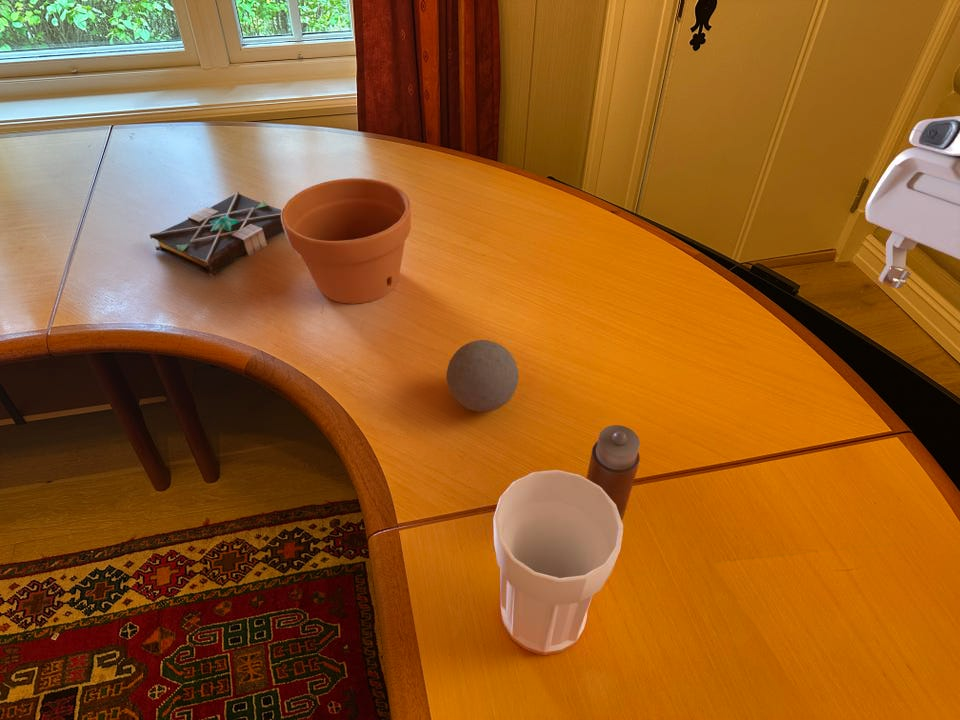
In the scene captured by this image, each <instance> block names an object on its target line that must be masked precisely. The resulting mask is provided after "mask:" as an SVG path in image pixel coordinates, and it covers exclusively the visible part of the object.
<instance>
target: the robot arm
mask: <svg viewBox="0 0 960 720" xmlns="http://www.w3.org/2000/svg"><path fill="white" fill-rule="evenodd" d="M908 141H909V143H910V144H911V145H912V146H914V147H910V148H909V147H908V148H907V149H904V150H903V151H901V152H900V153H899V154H898V155H896V157H894V158H893V160H892V161H891V162H890V164H889V165H888V166H887V168H886V169H885V171H884V172H883V174H882V175H881V177H880V179H879V180H878V182H877V184H876V185H875V187H874V189H873V190H872V192H871V194H870V196H869V198H868V199H867V202H866V204H865V207H864V213H865V220H866V222H868V223H870V224H873V225H874V226H875V225H876V226H878V227H880V228H882V229H885V230H887V231H890V232H891V234H890V236H889V237H888V238H887V241H886V242H885V264H886V265H885V267H884V268H883V270H882V272H881V274H880V275H879V277H878V281H879V282H880V283H882V284H883V285H885V286H888V287H889V288H893V289H902V288H903V287H904V286H905V284H906V281H907V280H908V279H909V278H910V276H911V274H912V273H913V272H912V271H911V270H908V268H907V269H906V260H907V253H908V252H907V251H908V250H909V251H912V250H914V249H915V247H916V246H917V244H918V243H919V244H921V245H923V246H926V247H928V248H930V249H933V250H936V251H938V252H941V253H942V254H945V255H947V256H950V257H952V258H954V259H957V260H959V261H960V115H956V116H947V117H946V116H945V117H939V118H938V117H937V118H927V119H923V120H920V121H919V122H917V123H916V124H915V126H914V127H913V129H912V131H911V132H910V135H909V138H908Z"/></svg>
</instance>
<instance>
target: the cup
mask: <svg viewBox="0 0 960 720" xmlns="http://www.w3.org/2000/svg"><path fill="white" fill-rule="evenodd" d="M586 478H587V477H585V476H582V475H580V474H579V473H578V474H577V473H574V472H573V473H572V472H569V471H564V470H560V469H553V470H552V469H551V470H541V471H533V472H531V473H529V474H527V475H525V476H523V477H520V478H518V479H517V480H514V481H513V482H512V483H511V484H510V485H509V486H508V487H507V489H506V490H505V491H504V492H503V493H502V494H501V495H500V497H498V498H499V499H498V502H497V505H496V508H495V512H494V515H493V545H494V550H495V557H496V563H497V566H498V567H499V571H500V572H499V582H500V583H499V584H500V586H499V587H500V588H499V589H500V593H499V595H500V599H499V600H500V601H499V602H500V614H501V615H500V616H501V620H502V624H503V627H504V628H505V630H506V632H507V634H508V636H509V637H510V639H511V640H512V641H513V642H514V643H516V644H517V645H518V646H520V647H521V648H523V649H524V650H526V651H528V652H531V653H534V654H537V655H542V656H548V655H549V656H550V655H555V654H560V653H563V652H565V651H567V650H569V649H570V648H572V647H573V646H574V645H576V644H577V643H578V641H579V639H580V638H581V636H582V634H583V633H584V630H585V627H586V623H587V617H588V612H589V611H588V610H589V608H590V605H591V603H592V599H593V596H594V595H595V594H597V593H598V592H600V591H601V590H602V588H603V586H604V585H605V583H606V582H607V580H608V579H609V577H610V576H611V574H612V573H613V569H614V567H615V564H616V562H617V560H618V556H619V554H620V551H621V548H622V542H623V534H624V524H623V520H622V521H621V518H620V515H619V512H618V509H617V507H616V504H615V503H614V502H613V501H612V500H611V499H610V497H609V496H608V495H607V494H606V493H605V491H604V490H603V489H602V488H601V487H600V486H598V485H596V484H595V483H593V482H591V481H589V480H588V479H586Z"/></svg>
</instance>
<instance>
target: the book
mask: <svg viewBox="0 0 960 720" xmlns="http://www.w3.org/2000/svg"><path fill="white" fill-rule="evenodd" d="M281 211H282V209H280V208H277V207H274V206H271V205H269V204H268V203H267V202H266V201H265V200H264V199H263V200H261V202H260V201H258V200H255V199H252V198H250V197H248V196H245V195H243V194H241V193H240V191H238V190H237V191H236V192H235V193H234V194H233V195H231V196H229V197H227V198H225V199H224V200H221V201H220V202H218V203H216V204H214V205H212V206H210V207H209V206H205V207H204V208H202V209H200V210H199V211H196V212H194V213H192V214H189V215H188V216H187V219H185V220H184V221H182V222H179V223H178V224H175V225H173V226H171V227H169V228H166V229H164V230H162V231H160V232H155V233H149V238H150V239H154V240H155V241H157V242H158V245H159V246H158V245H156V246H155V250H156V251H160V252H162V253H165V254H168V255H170V256H172V257H174V258H176V259H178V260H180V261H182V262H184V263H186V264H189V265H191V266H193V267H194V268H196V269H198V270H200V271H202V272H203V273H206V274H207V275H209V277H210V279H213V278H214V276H215V273H216V272H218V271H219V270H221V269H222V268H223V267H225V266H227V265H228V264H230V263H231V262H233V261H234V260H236V259H238V258H239V257H241V256H243V255H244V256H246V257H250V256H252V255H254V253H257V252H258V251H260V250H261V249H264V248H265V247H267V245H268V244H267V241H269V240H271V239H272V238H274V237H276V236H278V235H280V234H281V233H284V232H285V231H284V228H283V225H282V222H281Z"/></svg>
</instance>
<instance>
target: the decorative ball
mask: <svg viewBox="0 0 960 720" xmlns="http://www.w3.org/2000/svg"><path fill="white" fill-rule="evenodd" d="M446 370H447V371H446V383H447V387H448V391H449V392H450V394H451V396H452V397H453V399H454V401H456V402H457V403H458V404H459V405H460V406H462V407H464V408H465V409H467V410H469V411H473V412H476V413H477V412H478V413H488V412H493V411H495V410H498V409H500V408H502V407H503V406H505V405H506V404H507V403H508V402H509V401H510V400H511V399H512V398H513V396H514V394H515V393H516V390H517V388H518V384H519V367H518V365H517V362H516V360H515V358H514V357H513V355H512V353H511V352H510V351H509V350H508V348H506V347H504V346H503V345H502V344H499V343H497V342H495V341H493V340H488V339H487V340H486V339H480V340H472V341H470V342H467V343H466V344H464V345H462V346H461V347H459V349H457V350H456V351H455V352H454V354H452V357H451V358H450V360H449V362H448V365H447V368H446Z"/></svg>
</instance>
